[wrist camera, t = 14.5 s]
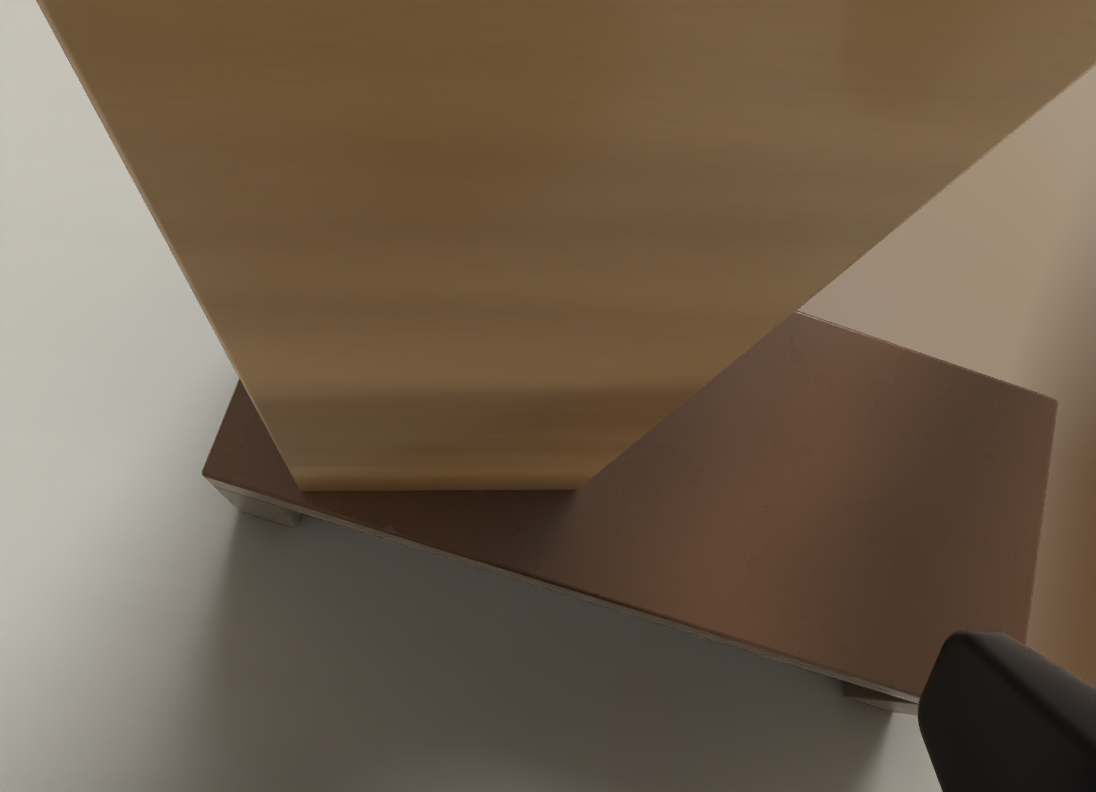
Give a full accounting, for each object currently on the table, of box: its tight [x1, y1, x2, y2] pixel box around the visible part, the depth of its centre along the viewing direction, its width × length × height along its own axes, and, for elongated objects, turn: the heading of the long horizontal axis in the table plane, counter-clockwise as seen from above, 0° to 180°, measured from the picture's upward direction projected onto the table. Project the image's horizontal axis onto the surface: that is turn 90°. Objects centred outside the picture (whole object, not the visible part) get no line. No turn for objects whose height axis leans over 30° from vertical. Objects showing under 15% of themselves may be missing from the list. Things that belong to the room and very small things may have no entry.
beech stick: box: [36, 0, 1096, 491], centre depth 10 cm, size 4×4×13 cm
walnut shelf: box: [202, 310, 1058, 715], centre depth 18 cm, size 14×6×4 cm, turn 74°
